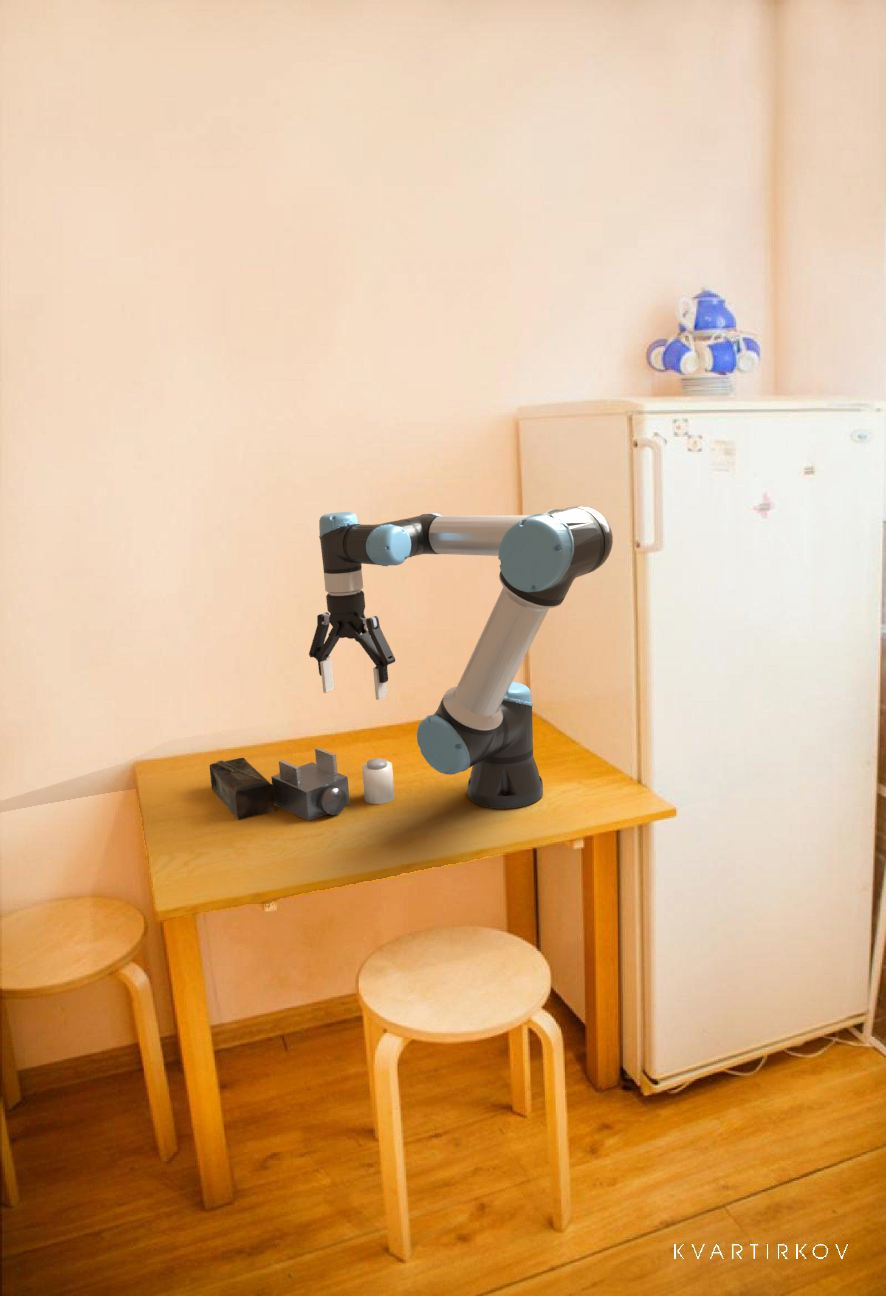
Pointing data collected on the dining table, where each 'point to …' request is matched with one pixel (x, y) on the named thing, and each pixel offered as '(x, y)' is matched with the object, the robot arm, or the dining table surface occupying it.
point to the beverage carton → (242, 788)
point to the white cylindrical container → (378, 781)
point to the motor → (311, 787)
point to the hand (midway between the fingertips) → (354, 694)
